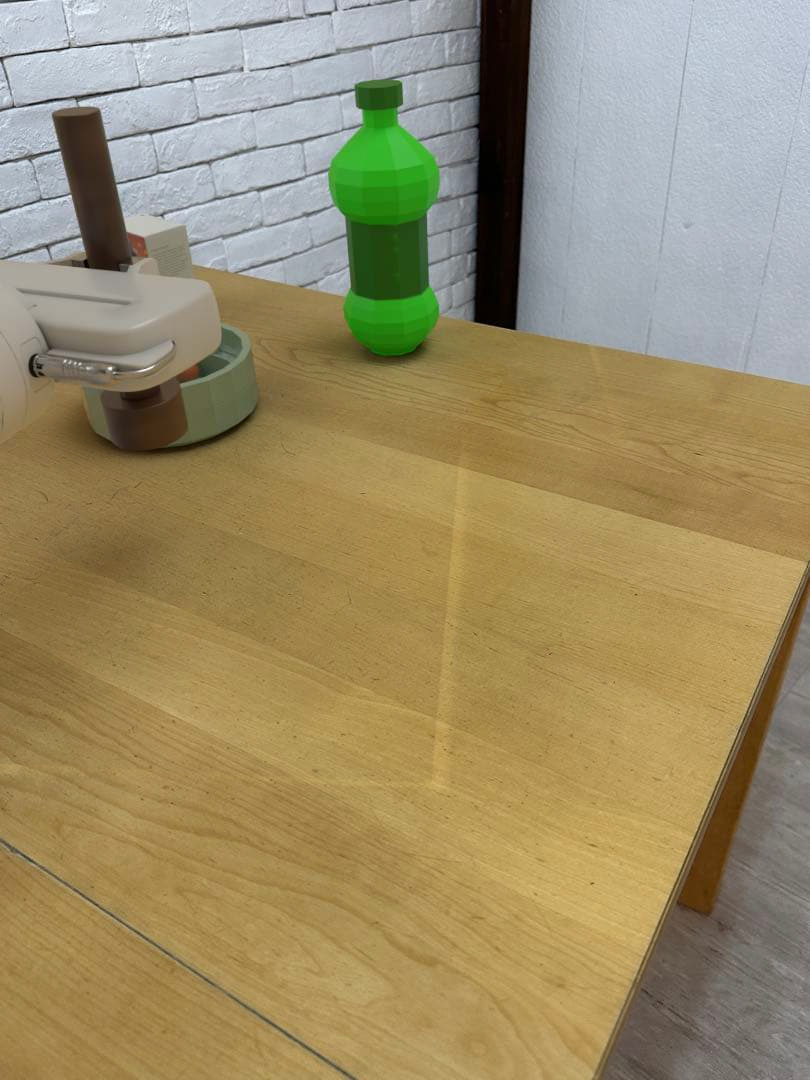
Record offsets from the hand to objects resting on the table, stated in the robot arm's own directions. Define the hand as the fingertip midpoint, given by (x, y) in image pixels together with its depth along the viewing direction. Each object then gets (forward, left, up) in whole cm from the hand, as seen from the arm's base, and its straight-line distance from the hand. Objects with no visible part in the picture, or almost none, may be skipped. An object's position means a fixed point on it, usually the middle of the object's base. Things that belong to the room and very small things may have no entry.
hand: (121, 266), depth 56 cm
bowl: (-7, +21, -21) cm, 30 cm away
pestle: (0, -1, -11) cm, 11 cm away
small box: (-16, +45, -21) cm, 52 cm away
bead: (-7, +25, -19) cm, 32 cm away
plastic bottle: (+12, +36, -21) cm, 43 cm away
